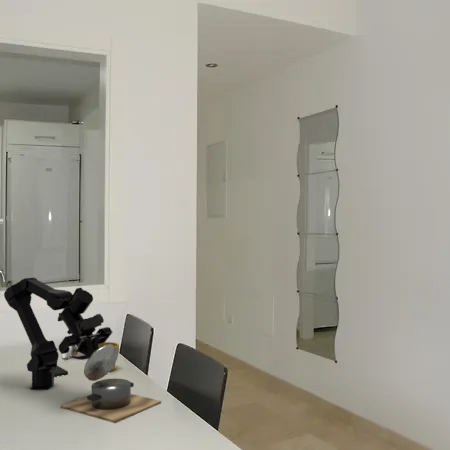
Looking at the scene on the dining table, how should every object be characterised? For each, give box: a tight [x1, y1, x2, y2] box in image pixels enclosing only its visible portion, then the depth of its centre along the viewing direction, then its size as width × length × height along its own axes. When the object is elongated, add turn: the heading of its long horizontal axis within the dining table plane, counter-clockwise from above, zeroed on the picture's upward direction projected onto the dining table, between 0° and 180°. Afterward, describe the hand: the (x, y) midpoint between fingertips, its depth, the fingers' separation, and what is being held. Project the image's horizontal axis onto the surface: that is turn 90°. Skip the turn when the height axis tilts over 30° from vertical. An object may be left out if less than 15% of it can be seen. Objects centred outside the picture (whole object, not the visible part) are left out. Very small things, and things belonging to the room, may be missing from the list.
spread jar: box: [61, 345, 89, 360], centre depth 232 cm, size 12×11×12 cm
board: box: [60, 393, 162, 424], centre depth 173 cm, size 24×20×1 cm
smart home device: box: [52, 365, 69, 378], centre depth 212 cm, size 8×2×20 cm
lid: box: [83, 344, 119, 382], centre depth 175 cm, size 13×13×2 cm
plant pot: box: [98, 341, 120, 373], centre depth 213 cm, size 10×10×10 cm
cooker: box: [86, 378, 135, 410], centre depth 173 cm, size 12×17×6 cm
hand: (99, 360), depth 176 cm, fingers closed, pressing on lid
